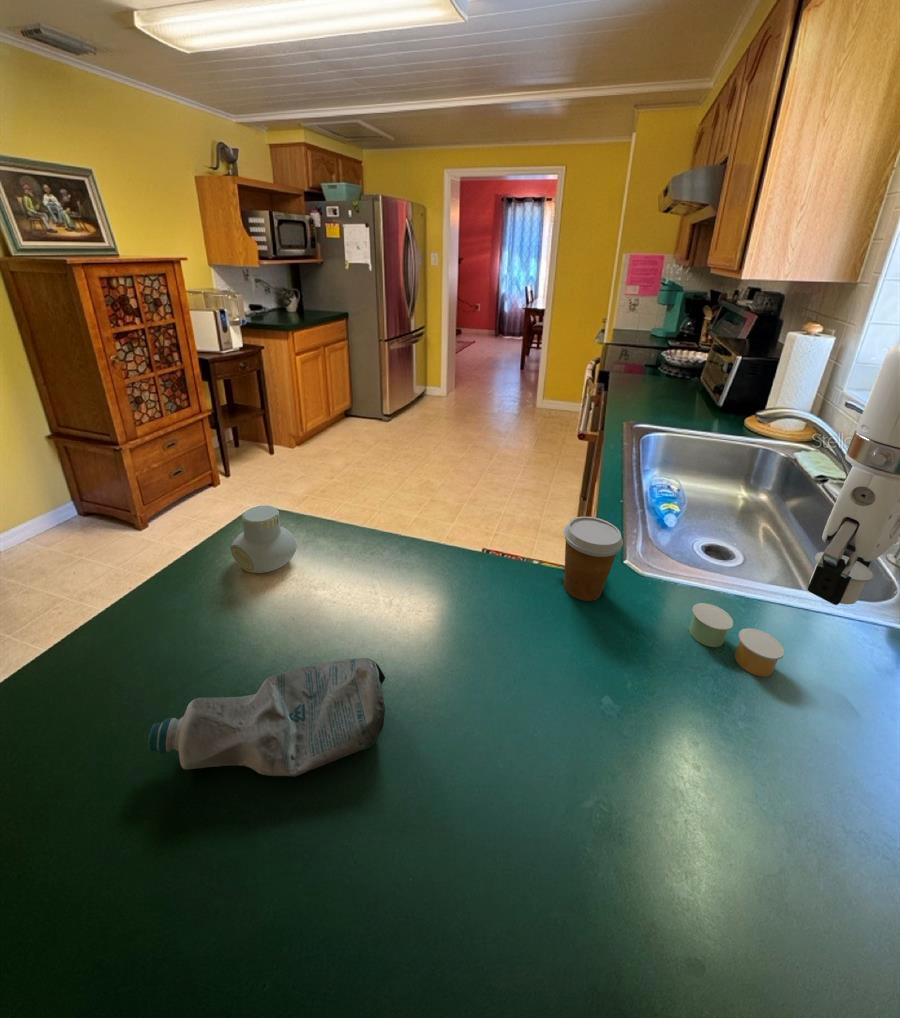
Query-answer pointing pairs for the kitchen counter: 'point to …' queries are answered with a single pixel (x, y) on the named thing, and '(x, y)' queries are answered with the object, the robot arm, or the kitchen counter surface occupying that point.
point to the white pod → (852, 579)
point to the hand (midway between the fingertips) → (833, 587)
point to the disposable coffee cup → (589, 556)
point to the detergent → (282, 721)
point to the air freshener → (263, 541)
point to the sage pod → (710, 624)
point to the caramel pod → (758, 652)
